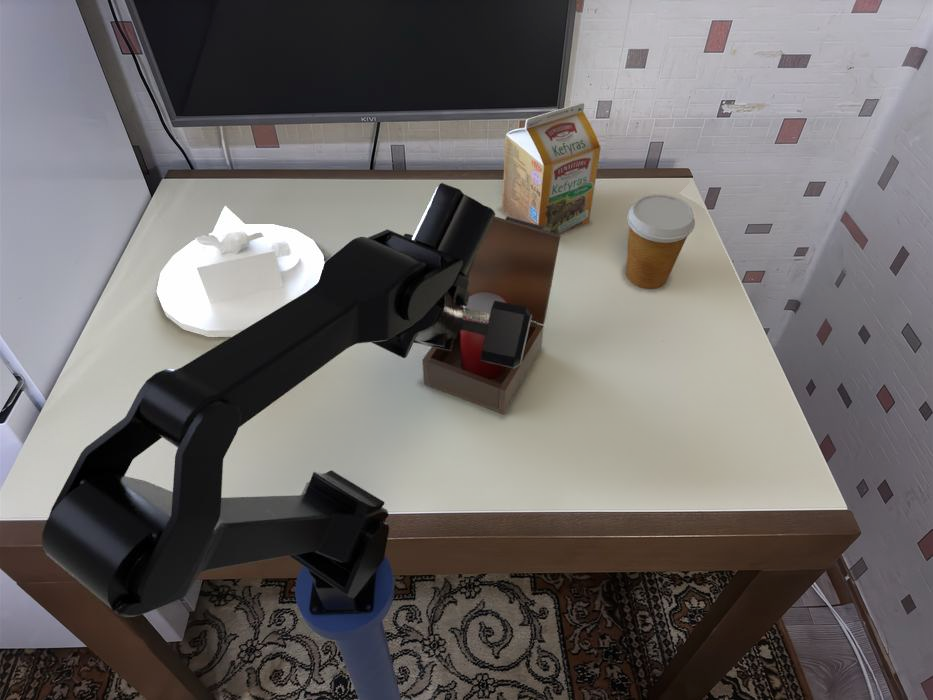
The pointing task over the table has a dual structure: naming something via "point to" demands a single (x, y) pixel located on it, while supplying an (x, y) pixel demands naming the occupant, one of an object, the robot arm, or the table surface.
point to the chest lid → (516, 264)
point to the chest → (492, 394)
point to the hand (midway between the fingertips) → (450, 329)
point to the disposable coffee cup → (656, 238)
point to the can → (478, 339)
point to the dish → (237, 276)
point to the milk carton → (551, 170)
